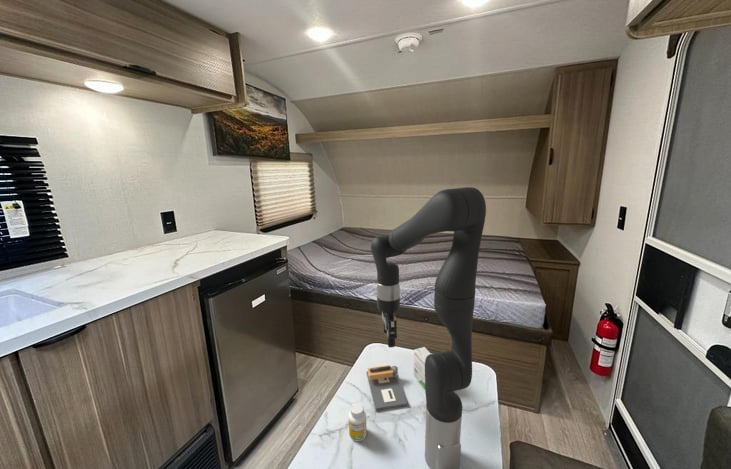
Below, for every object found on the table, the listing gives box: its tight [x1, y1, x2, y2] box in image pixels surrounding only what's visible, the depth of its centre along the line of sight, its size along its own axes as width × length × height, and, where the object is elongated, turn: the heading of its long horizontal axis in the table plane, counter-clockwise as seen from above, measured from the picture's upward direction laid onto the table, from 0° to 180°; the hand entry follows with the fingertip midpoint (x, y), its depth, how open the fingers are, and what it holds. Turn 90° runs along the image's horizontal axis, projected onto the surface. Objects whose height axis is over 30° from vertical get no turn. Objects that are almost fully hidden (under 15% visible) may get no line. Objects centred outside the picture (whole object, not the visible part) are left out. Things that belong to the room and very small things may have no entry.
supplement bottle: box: [347, 402, 368, 442], centre depth 87 cm, size 5×5×10 cm
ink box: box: [413, 346, 432, 390], centre depth 108 cm, size 8×5×12 cm, turn 21°
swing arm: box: [367, 364, 399, 380], centre depth 109 cm, size 4×11×3 cm, turn 99°
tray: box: [366, 370, 408, 412], centre depth 106 cm, size 18×11×3 cm, turn 10°
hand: (389, 339), depth 97 cm, fingers open, 8 cm apart
